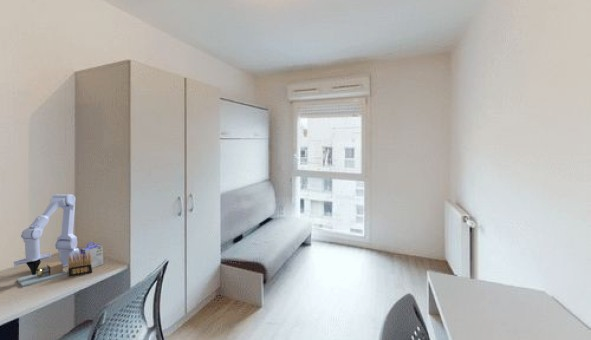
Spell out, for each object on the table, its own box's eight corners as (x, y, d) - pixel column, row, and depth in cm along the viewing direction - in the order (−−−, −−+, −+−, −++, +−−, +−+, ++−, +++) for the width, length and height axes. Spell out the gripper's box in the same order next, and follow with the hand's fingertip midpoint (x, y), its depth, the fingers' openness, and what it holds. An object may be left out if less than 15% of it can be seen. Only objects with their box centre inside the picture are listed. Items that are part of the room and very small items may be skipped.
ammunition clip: (68, 277, 152) (67, 256, 152) (68, 275, 154) (68, 255, 153) (91, 272, 158) (91, 252, 157) (92, 271, 160) (91, 251, 159)
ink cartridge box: (98, 262, 172) (97, 240, 171) (103, 264, 170) (103, 241, 169) (80, 268, 163) (79, 245, 162) (86, 270, 161) (85, 246, 160)
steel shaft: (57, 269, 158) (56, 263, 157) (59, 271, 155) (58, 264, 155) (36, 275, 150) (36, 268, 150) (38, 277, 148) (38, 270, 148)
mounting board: (60, 269, 162) (59, 259, 161) (66, 274, 155) (66, 264, 154) (17, 280, 147) (16, 269, 147) (22, 287, 140) (22, 276, 140)
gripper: (15, 255, 139) (16, 281, 140) (52, 247, 151) (53, 271, 152) (12, 252, 143) (13, 277, 144) (48, 245, 155) (49, 268, 156)
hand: (33, 274), depth 148 cm, fingers closed
